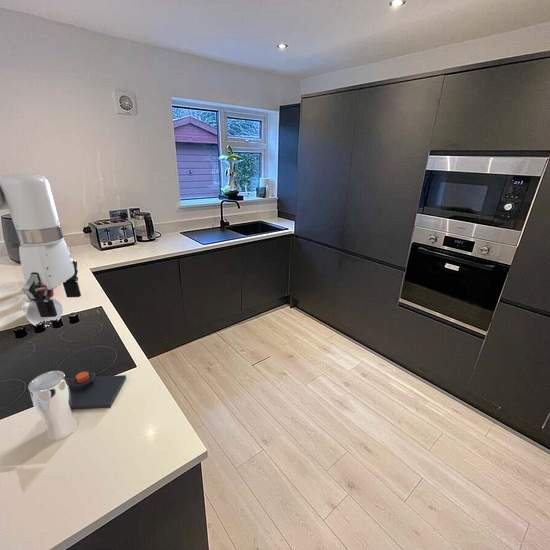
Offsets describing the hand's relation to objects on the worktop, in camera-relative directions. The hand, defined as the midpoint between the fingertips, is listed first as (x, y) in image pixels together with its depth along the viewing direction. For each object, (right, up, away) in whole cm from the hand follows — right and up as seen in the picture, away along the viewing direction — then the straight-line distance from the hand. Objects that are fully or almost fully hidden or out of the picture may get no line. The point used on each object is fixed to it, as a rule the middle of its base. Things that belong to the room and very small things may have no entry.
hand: (62, 306), depth 68 cm
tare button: (-5, -23, +14) cm, 27 cm away
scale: (0, -26, +13) cm, 29 cm away
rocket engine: (-44, -10, +50) cm, 68 cm away
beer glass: (-1, -30, +2) cm, 31 cm away
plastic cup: (-57, -3, +67) cm, 89 cm away
